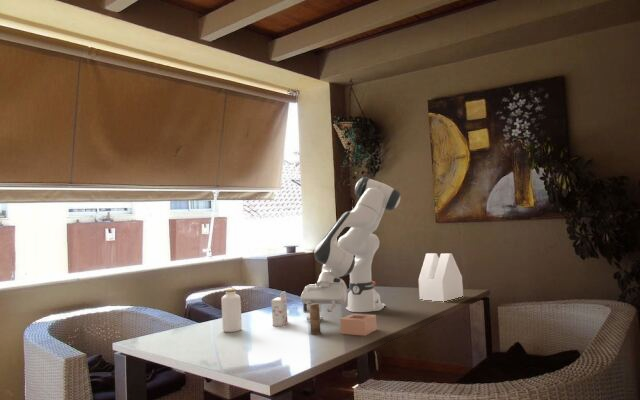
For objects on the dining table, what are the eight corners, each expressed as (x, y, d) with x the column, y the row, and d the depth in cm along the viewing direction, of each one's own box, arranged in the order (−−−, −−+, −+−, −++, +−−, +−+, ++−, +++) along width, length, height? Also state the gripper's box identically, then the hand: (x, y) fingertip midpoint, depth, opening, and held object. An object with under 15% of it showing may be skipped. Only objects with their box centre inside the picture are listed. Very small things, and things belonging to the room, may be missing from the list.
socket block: (353, 327, 209) (352, 313, 209) (376, 329, 203) (376, 315, 203) (340, 333, 199) (340, 318, 199) (365, 335, 194) (364, 320, 194)
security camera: (303, 320, 231) (302, 299, 231) (313, 317, 236) (312, 296, 236) (313, 321, 226) (312, 300, 227) (323, 319, 232) (322, 297, 232)
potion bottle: (234, 327, 222) (233, 287, 223) (245, 329, 216) (243, 289, 217) (219, 331, 216) (217, 290, 217) (229, 333, 211) (227, 291, 211)
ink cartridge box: (277, 322, 230) (276, 290, 231) (287, 322, 229) (286, 290, 230) (272, 326, 221) (270, 293, 222) (282, 326, 220) (281, 293, 221)
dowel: (314, 331, 205) (312, 303, 206) (322, 332, 203) (320, 303, 204) (309, 334, 202) (307, 304, 202) (317, 334, 200) (315, 305, 200)
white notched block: (443, 302, 258) (440, 255, 260) (419, 300, 270) (416, 254, 271) (463, 297, 271) (460, 252, 273) (439, 295, 283) (436, 252, 284)
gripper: (303, 280, 216) (294, 306, 206) (346, 279, 207) (338, 306, 198) (308, 289, 220) (299, 315, 210) (350, 288, 211) (343, 315, 202)
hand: (318, 311), depth 204 cm, fingers open, 8 cm apart
